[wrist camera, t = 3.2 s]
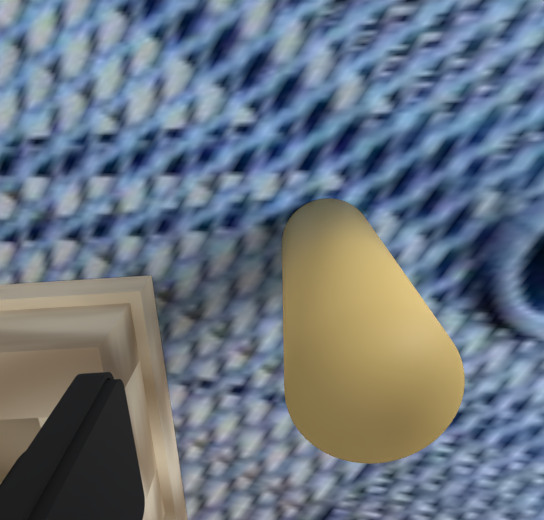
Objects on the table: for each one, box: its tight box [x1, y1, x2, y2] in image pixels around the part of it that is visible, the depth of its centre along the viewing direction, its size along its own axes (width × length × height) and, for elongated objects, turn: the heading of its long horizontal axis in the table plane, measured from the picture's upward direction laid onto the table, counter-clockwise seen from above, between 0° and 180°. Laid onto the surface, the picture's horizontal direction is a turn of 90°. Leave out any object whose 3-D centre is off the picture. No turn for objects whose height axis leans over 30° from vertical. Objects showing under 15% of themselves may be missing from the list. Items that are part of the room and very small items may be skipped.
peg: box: [282, 199, 465, 463], centre depth 17 cm, size 4×4×12 cm
